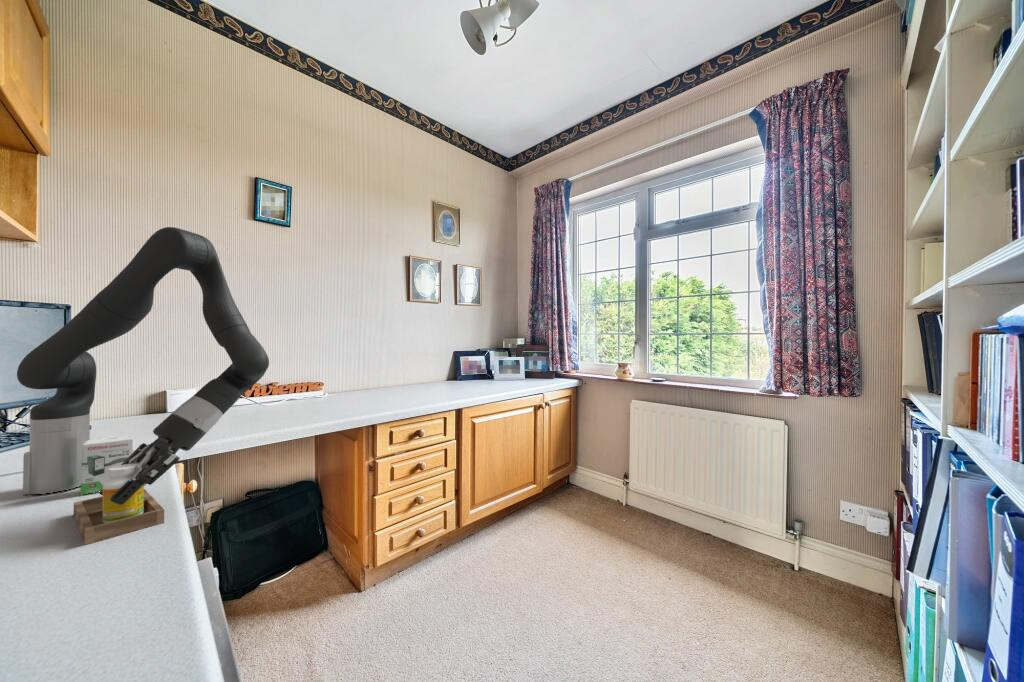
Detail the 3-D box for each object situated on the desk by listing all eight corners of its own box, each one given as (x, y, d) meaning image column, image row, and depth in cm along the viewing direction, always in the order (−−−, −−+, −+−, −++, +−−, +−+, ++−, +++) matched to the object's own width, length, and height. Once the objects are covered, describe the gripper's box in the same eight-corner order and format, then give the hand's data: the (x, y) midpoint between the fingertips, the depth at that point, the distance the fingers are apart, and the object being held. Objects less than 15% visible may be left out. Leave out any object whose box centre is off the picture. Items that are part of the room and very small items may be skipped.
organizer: (73, 514, 75) (73, 502, 75) (142, 498, 83) (142, 487, 83) (85, 544, 63) (85, 530, 63) (164, 522, 71) (164, 509, 71)
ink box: (79, 496, 84) (79, 444, 85) (82, 490, 88) (83, 440, 88) (133, 486, 90) (133, 437, 91) (134, 481, 94) (134, 434, 94)
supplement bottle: (144, 517, 71) (144, 466, 71) (102, 527, 67) (102, 473, 67) (142, 509, 74) (143, 460, 75) (102, 518, 70) (103, 466, 71)
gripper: (160, 409, 81) (76, 482, 70) (189, 415, 74) (101, 497, 63) (190, 429, 85) (116, 500, 75) (220, 436, 78) (143, 516, 68)
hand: (109, 498), depth 69 cm, fingers closed on supplement bottle, 5 cm apart
